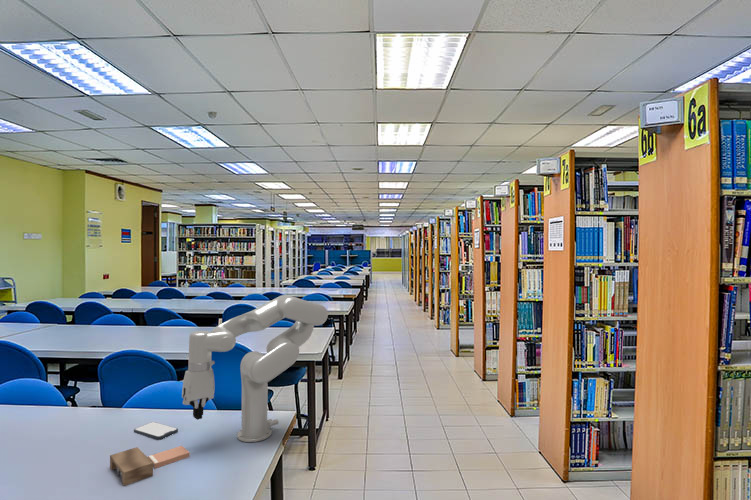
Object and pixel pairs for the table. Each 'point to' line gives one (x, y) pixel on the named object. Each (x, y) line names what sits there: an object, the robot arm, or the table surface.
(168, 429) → the smartphone
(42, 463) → the table surface
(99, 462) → the table surface
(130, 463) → the wooden channel block
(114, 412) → the table surface
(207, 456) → the table surface
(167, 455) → the salmon pink flat block
